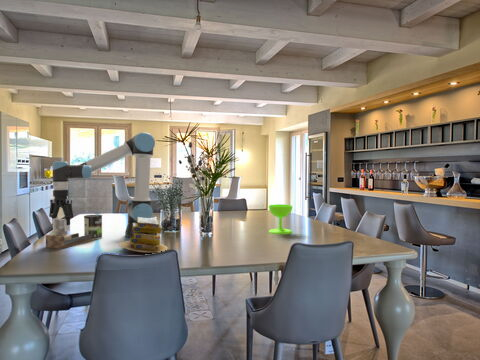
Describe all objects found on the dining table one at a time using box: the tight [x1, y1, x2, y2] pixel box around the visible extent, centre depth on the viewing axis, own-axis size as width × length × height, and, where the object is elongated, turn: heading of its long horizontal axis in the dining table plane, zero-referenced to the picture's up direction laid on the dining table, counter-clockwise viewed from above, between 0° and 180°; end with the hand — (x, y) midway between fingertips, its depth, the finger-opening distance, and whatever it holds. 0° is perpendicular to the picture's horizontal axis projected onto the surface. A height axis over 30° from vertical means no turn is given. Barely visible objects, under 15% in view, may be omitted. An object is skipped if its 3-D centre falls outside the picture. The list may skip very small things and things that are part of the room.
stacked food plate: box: [119, 216, 168, 253], centre depth 182 cm, size 25×25×17 cm
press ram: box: [55, 218, 72, 240], centre depth 190 cm, size 8×7×13 cm
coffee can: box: [83, 214, 103, 241], centre depth 211 cm, size 10×10×14 cm
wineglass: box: [268, 203, 293, 235], centre depth 232 cm, size 16×16×18 cm
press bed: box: [45, 232, 93, 250], centre depth 195 cm, size 12×21×6 cm, turn 158°
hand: (61, 230), depth 189 cm, fingers open, 8 cm apart
